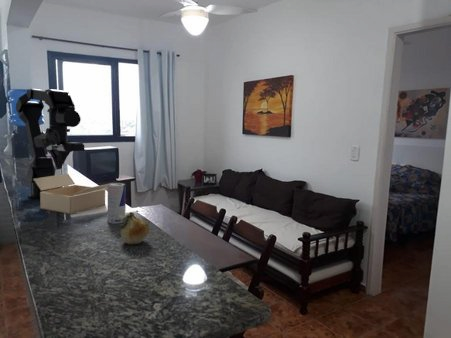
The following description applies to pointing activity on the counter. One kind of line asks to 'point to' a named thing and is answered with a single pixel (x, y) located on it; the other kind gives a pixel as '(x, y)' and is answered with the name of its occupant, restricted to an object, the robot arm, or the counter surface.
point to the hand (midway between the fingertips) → (58, 169)
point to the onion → (133, 229)
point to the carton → (71, 199)
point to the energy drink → (116, 202)
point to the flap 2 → (92, 189)
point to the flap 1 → (54, 181)
